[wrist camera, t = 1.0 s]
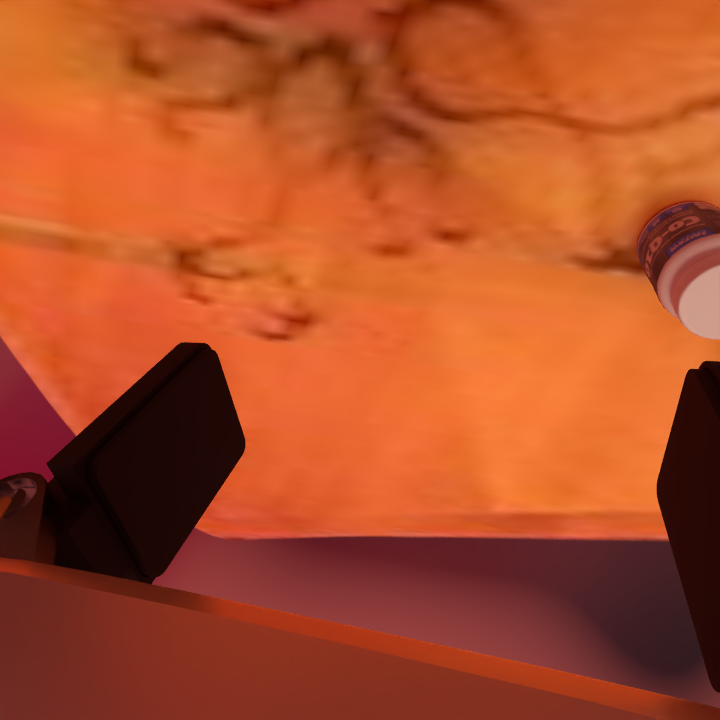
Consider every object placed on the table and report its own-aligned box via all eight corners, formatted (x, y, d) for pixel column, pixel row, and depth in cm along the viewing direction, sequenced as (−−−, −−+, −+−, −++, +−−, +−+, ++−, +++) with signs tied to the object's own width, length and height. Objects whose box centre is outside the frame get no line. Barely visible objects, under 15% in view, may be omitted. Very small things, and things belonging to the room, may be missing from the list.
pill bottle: (671, 186, 28) (720, 234, 21) (749, 220, 27) (825, 279, 21) (618, 258, 30) (646, 322, 24) (689, 290, 30) (737, 362, 23)
